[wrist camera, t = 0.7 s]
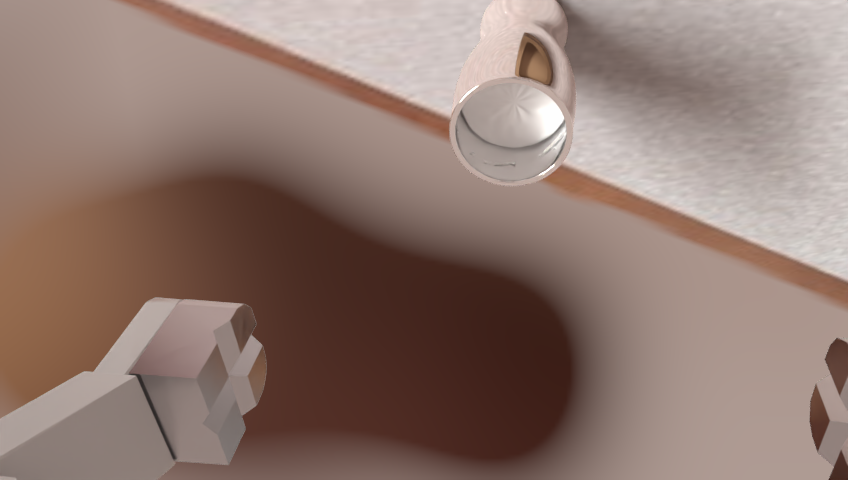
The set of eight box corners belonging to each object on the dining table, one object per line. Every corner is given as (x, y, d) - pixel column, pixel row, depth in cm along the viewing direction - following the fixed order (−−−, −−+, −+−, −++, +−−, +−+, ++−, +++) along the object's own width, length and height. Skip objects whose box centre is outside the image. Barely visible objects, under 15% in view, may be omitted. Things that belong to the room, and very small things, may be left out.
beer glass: (591, 1, 46) (600, 102, 35) (549, 90, 51) (544, 206, 39) (494, -36, 46) (470, 53, 34) (460, 57, 50) (428, 164, 39)
